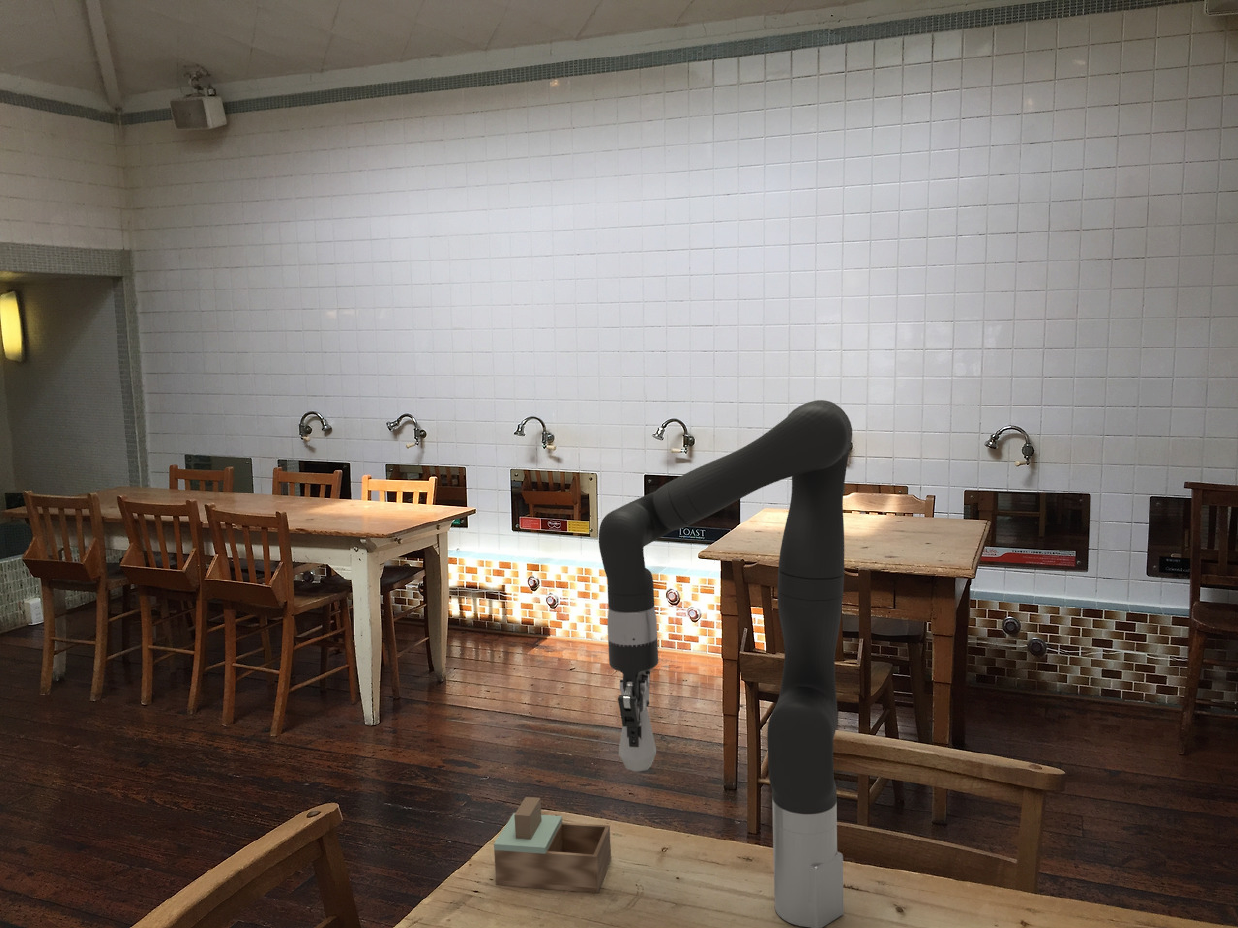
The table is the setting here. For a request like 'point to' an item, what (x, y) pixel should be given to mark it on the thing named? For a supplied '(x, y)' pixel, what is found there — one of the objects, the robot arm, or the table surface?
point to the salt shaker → (646, 751)
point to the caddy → (560, 861)
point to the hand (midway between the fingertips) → (637, 742)
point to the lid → (528, 829)
